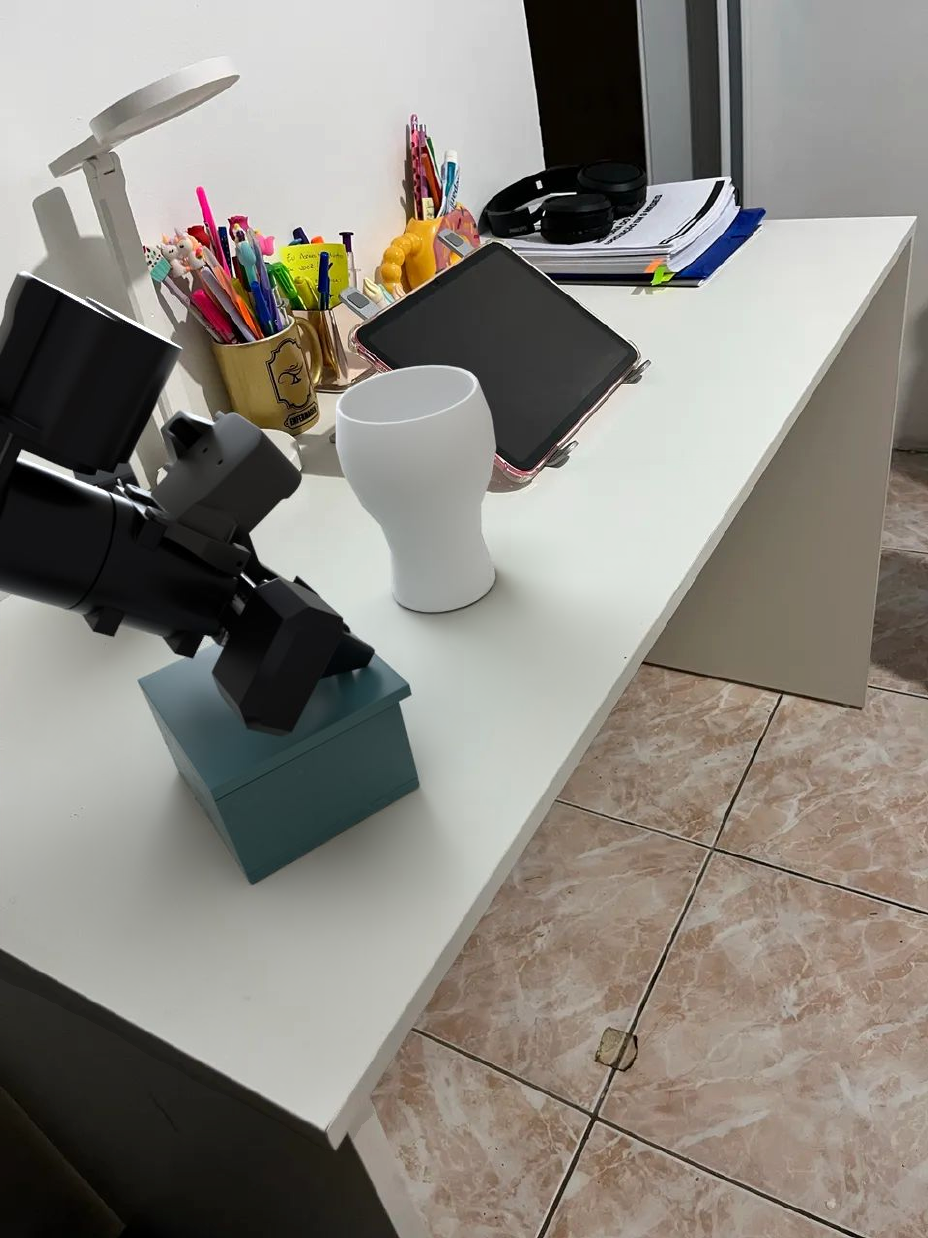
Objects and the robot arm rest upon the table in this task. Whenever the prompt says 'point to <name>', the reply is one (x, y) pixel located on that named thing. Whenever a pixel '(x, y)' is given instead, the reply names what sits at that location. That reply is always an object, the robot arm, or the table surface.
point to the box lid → (244, 755)
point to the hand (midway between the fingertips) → (348, 636)
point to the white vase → (423, 478)
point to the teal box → (307, 793)
